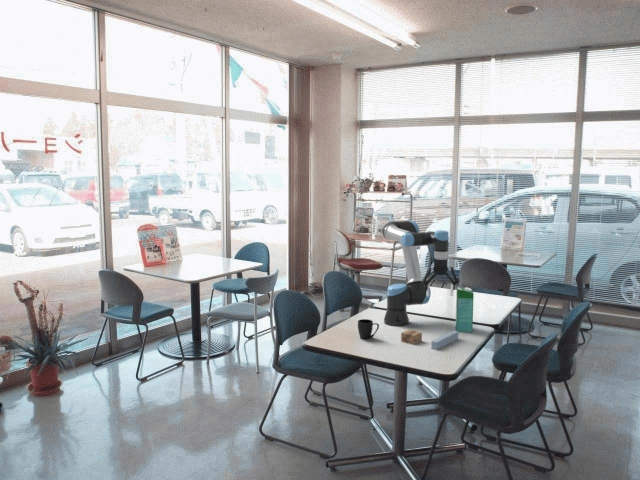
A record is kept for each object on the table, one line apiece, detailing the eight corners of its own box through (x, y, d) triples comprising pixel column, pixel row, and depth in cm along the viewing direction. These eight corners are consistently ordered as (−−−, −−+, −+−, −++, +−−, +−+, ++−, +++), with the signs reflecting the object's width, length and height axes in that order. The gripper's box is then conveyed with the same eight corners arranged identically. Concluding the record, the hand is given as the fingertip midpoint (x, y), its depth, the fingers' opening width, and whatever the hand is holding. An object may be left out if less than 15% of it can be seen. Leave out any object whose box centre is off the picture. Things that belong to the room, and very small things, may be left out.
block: (401, 341, 295) (401, 332, 294) (409, 338, 300) (409, 329, 300) (413, 344, 289) (413, 335, 288) (421, 341, 295) (421, 332, 294)
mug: (375, 341, 294) (375, 324, 293) (355, 338, 299) (355, 322, 298) (381, 337, 301) (381, 321, 300) (361, 334, 307) (361, 318, 305)
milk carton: (472, 332, 310) (473, 289, 307) (456, 331, 312) (457, 288, 308) (471, 327, 319) (472, 286, 315) (455, 326, 320) (456, 285, 317)
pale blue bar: (431, 348, 282) (431, 341, 282) (453, 337, 300) (453, 330, 300) (436, 349, 280) (436, 342, 280) (458, 338, 298) (458, 331, 298)
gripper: (420, 259, 295) (419, 297, 298) (465, 259, 296) (463, 297, 299) (417, 257, 302) (416, 294, 305) (461, 257, 303) (459, 293, 306)
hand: (439, 295), depth 302 cm, fingers open, 13 cm apart
